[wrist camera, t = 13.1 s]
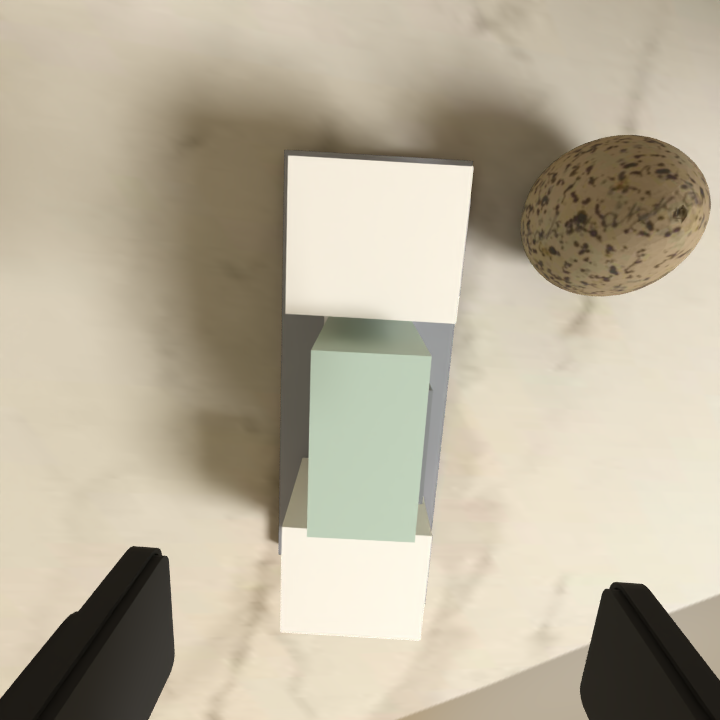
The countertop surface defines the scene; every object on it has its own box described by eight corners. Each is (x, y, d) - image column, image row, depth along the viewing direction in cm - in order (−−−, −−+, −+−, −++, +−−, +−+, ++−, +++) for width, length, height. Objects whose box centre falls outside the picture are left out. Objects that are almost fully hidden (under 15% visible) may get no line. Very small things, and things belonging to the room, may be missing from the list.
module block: (414, 317, 26) (438, 356, 17) (403, 447, 28) (420, 542, 19) (330, 313, 26) (310, 350, 17) (325, 443, 28) (306, 537, 19)
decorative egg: (474, 233, 26) (538, 228, 16) (564, 126, 24) (693, 51, 15) (563, 311, 27) (673, 350, 17) (655, 213, 26) (830, 196, 16)
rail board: (468, 164, 25) (519, 125, 17) (426, 553, 31) (447, 666, 23) (287, 153, 25) (248, 109, 17) (281, 545, 31) (250, 654, 23)
